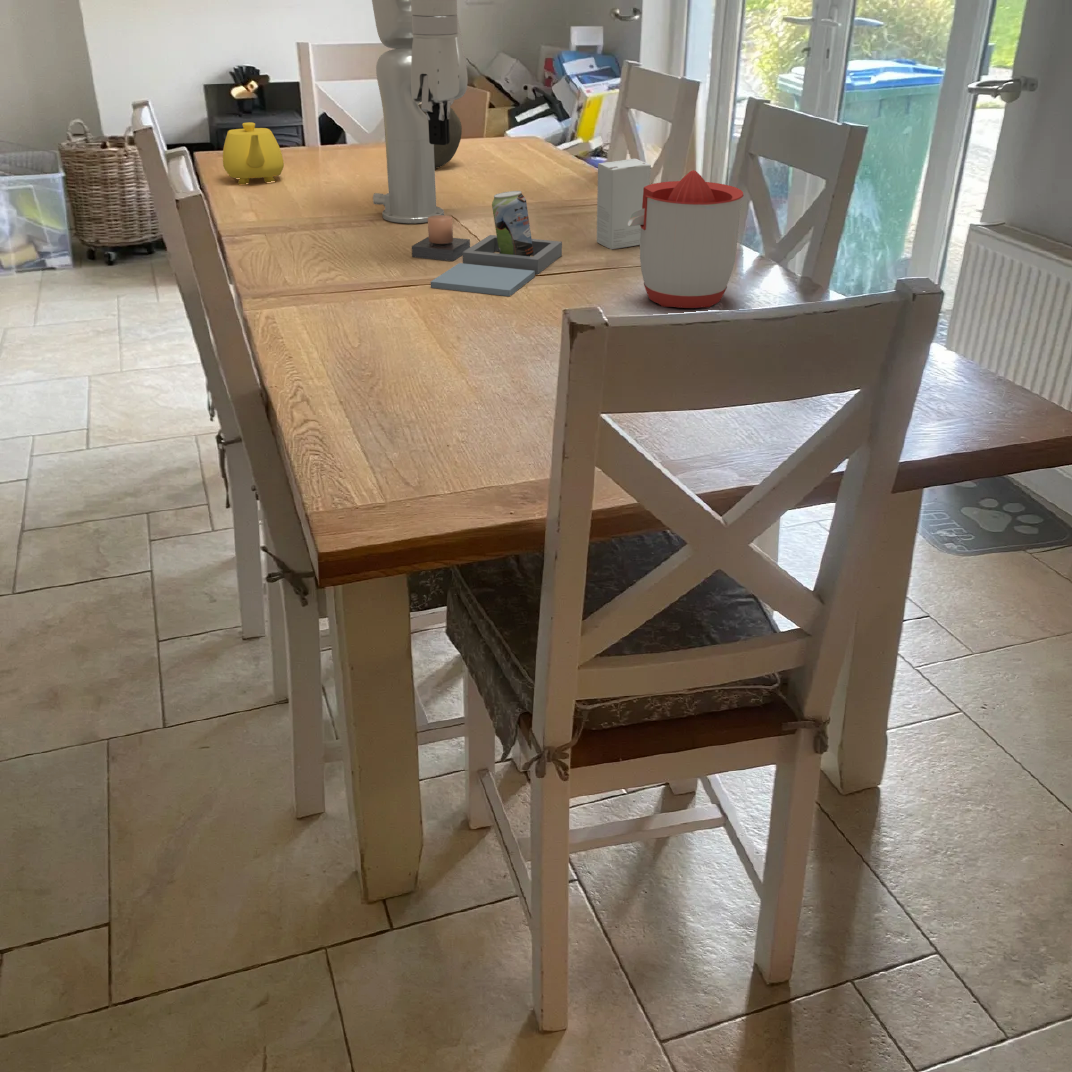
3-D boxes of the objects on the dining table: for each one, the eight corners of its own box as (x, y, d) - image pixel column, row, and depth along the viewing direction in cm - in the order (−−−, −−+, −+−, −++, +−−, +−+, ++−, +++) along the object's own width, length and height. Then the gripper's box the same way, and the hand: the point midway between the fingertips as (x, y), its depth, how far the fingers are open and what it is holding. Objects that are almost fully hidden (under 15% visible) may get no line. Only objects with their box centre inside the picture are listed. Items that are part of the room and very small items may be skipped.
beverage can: (529, 266, 188) (529, 196, 182) (489, 264, 189) (487, 194, 183) (536, 257, 193) (537, 189, 187) (497, 255, 195) (496, 187, 189)
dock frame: (462, 266, 188) (462, 252, 187) (490, 248, 199) (490, 234, 197) (537, 274, 184) (537, 259, 183) (561, 255, 195) (561, 241, 193)
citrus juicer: (622, 284, 179) (628, 159, 169) (726, 285, 178) (738, 160, 168) (626, 313, 165) (632, 180, 155) (739, 315, 165) (752, 181, 155)
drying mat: (430, 287, 177) (430, 281, 176) (459, 268, 187) (459, 263, 186) (509, 296, 173) (509, 290, 172) (534, 276, 183) (534, 270, 182)
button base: (412, 257, 193) (411, 246, 192) (430, 246, 200) (430, 235, 199) (452, 261, 191) (452, 250, 190) (470, 250, 197) (469, 239, 196)
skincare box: (632, 238, 206) (636, 157, 198) (648, 245, 201) (653, 163, 194) (594, 243, 202) (596, 161, 195) (609, 250, 198) (612, 167, 190)
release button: (424, 242, 193) (423, 219, 191) (434, 236, 197) (433, 214, 195) (447, 244, 192) (446, 221, 190) (456, 238, 195) (456, 216, 193)
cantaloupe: (460, 172, 260) (458, 106, 252) (402, 172, 260) (398, 106, 253) (464, 161, 272) (462, 98, 265) (409, 161, 272) (405, 98, 265)
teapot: (280, 171, 261) (274, 116, 254) (291, 188, 244) (285, 129, 238) (222, 175, 257) (214, 118, 250) (230, 192, 240) (222, 132, 234)
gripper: (433, 23, 184) (438, 135, 193) (394, 30, 172) (400, 149, 181) (473, 24, 182) (476, 138, 191) (436, 31, 169) (441, 152, 178)
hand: (439, 143), depth 186 cm, fingers closed
